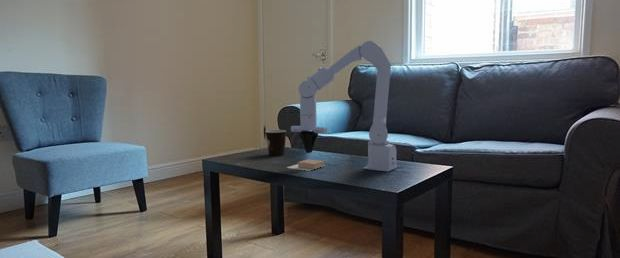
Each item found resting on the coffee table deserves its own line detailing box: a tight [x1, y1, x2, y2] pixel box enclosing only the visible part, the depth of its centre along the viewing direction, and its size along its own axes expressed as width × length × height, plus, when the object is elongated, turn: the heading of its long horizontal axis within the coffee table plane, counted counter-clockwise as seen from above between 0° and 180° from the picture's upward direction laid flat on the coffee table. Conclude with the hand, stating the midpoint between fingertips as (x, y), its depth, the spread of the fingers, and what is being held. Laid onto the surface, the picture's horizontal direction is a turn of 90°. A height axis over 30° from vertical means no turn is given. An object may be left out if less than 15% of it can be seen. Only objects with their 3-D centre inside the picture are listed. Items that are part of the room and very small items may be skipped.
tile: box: [297, 158, 325, 170], centre depth 163 cm, size 2×6×7 cm
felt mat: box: [286, 163, 326, 172], centre depth 164 cm, size 10×10×1 cm
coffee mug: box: [265, 129, 287, 157], centre depth 188 cm, size 12×9×10 cm
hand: (309, 152), depth 163 cm, fingers closed
